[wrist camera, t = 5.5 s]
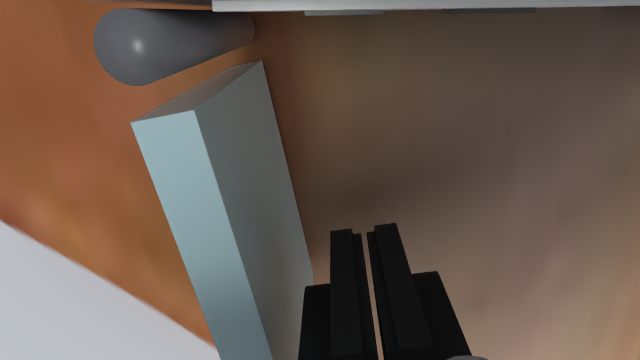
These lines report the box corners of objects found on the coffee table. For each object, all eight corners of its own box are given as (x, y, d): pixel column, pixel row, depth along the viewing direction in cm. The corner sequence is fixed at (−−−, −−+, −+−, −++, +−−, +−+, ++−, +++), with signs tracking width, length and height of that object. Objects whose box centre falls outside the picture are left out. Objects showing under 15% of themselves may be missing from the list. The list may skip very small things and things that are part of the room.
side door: (313, 275, 15) (304, 460, 9) (270, 282, 15) (231, 468, 9) (262, 60, 12) (194, 110, 6) (208, 71, 12) (87, 131, 6)
